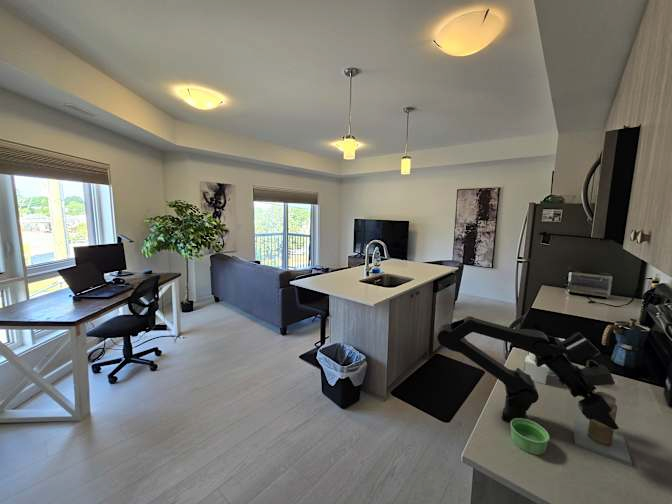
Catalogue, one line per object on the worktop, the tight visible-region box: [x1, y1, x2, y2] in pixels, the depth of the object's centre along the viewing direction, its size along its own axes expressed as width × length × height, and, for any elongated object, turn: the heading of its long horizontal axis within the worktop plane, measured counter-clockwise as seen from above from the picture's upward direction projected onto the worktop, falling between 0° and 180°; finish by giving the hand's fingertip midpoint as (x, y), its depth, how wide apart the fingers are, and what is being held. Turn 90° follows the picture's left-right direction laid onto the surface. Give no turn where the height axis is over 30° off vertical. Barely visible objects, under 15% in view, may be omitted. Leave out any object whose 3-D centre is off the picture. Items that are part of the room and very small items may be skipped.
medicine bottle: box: [523, 352, 548, 385], centre depth 110 cm, size 7×7×12 cm
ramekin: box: [509, 418, 550, 456], centre depth 78 cm, size 9×9×4 cm
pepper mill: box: [588, 391, 618, 446], centre depth 78 cm, size 5×5×13 cm
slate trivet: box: [572, 418, 633, 467], centre depth 79 cm, size 11×11×1 cm
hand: (609, 417), depth 78 cm, fingers open, 9 cm apart
